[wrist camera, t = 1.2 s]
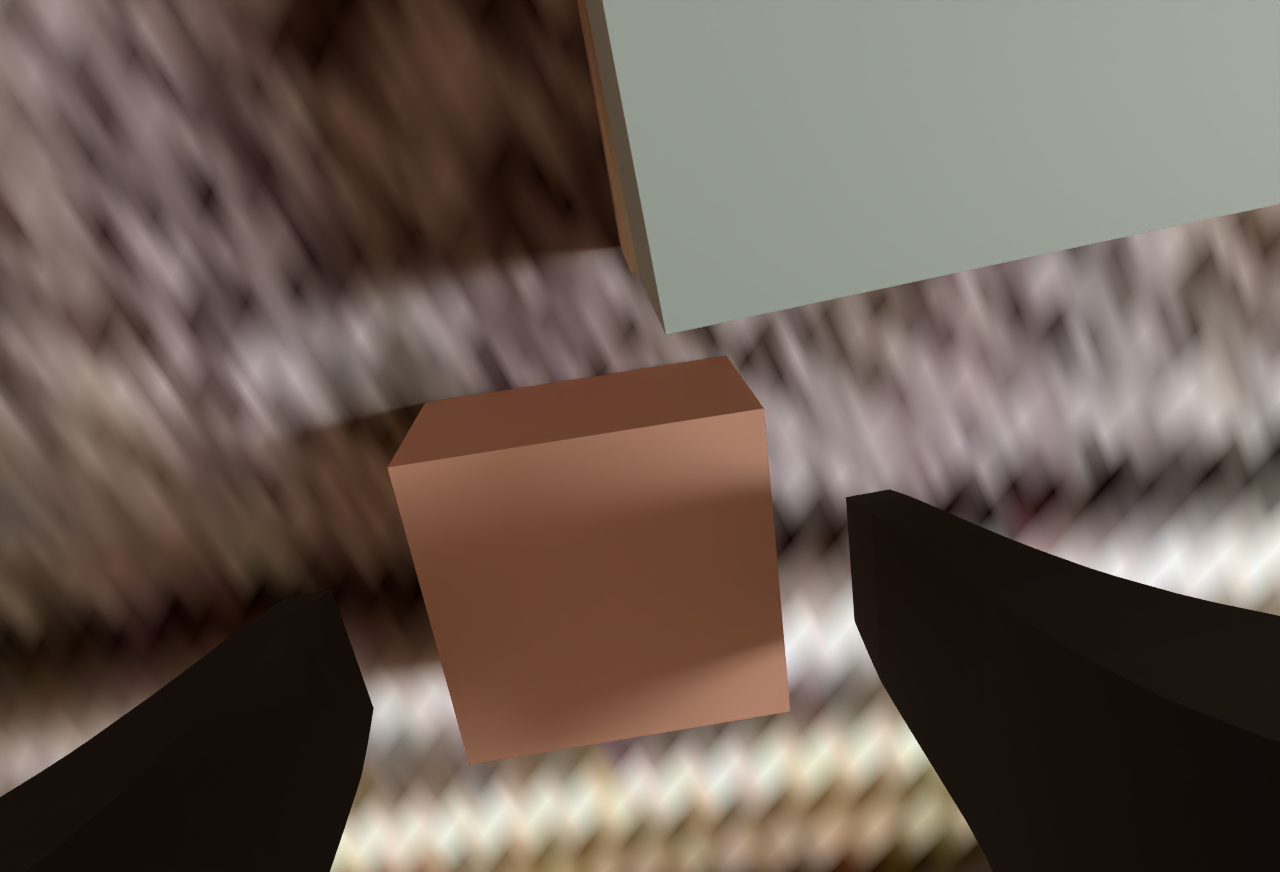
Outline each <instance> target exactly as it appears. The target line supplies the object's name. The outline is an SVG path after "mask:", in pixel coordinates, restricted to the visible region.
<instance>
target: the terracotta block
mask: <svg viewBox="0 0 1280 872" xmlns="http://www.w3.org/2000/svg"><path fill="white" fill-rule="evenodd" d="M387 468H388V472H389V475H390V479H391V483H392V486H393V490H394V493H395V497H396V501H397V504H398V508H399V512H400V515H401V519H402V522H403V526H404V530H405V533H406V537H407V541H408V544H409V548H410V551H411V555H412V559H413V562H414V566H415V570H416V573H417V577H418V580H419V584H420V588H421V591H422V595H423V599H424V602H425V606H426V609H427V613H428V617H429V620H430V624H431V627H432V631H433V635H434V638H435V642H436V646H437V649H438V653H439V656H440V660H441V664H442V667H443V671H444V675H445V678H446V682H447V685H448V689H449V693H450V696H451V700H452V704H453V707H454V711H455V714H456V718H457V722H458V725H459V729H460V733H461V736H462V740H463V743H464V747H465V751H466V754H467V758H468V762H469V765H471V764H477V763H483V762H489V761H495V760H501V759H507V758H513V757H519V756H525V755H531V754H537V753H543V752H549V751H555V750H561V749H567V748H573V747H579V746H585V745H591V744H597V743H603V742H609V741H615V740H621V739H627V738H633V737H639V736H645V735H651V734H657V733H663V732H669V731H675V730H681V729H687V728H693V727H699V726H705V725H711V724H717V723H723V722H729V721H735V720H741V719H747V718H753V717H759V716H765V715H771V714H777V713H783V712H789V711H790V704H789V692H788V681H787V669H786V658H785V646H784V635H783V623H782V611H781V600H780V588H779V577H778V565H777V554H776V542H775V531H774V519H773V508H772V496H771V485H770V473H769V462H768V450H767V439H766V427H765V416H764V408H763V406H762V405H761V404H760V402H759V401H758V399H757V398H756V397H755V395H754V394H753V393H752V391H751V390H750V388H749V387H748V386H747V384H746V383H745V381H744V380H743V379H742V377H741V376H740V374H739V373H738V372H737V370H736V369H735V367H734V366H733V365H732V363H731V362H730V360H729V359H728V358H727V356H722V357H715V358H709V359H703V360H696V361H690V362H683V363H677V364H670V365H664V366H657V367H651V368H645V369H638V370H632V371H625V372H619V373H612V374H606V375H599V376H593V377H587V378H580V379H574V380H567V381H561V382H554V383H548V384H541V385H535V386H529V387H522V388H516V389H509V390H503V391H496V392H490V393H483V394H477V395H471V396H464V397H458V398H451V399H445V400H438V401H432V402H425V404H424V406H423V407H422V409H421V411H420V413H419V414H418V416H417V418H416V419H415V421H414V423H413V425H412V426H411V428H410V430H409V431H408V433H407V435H406V437H405V438H404V440H403V442H402V443H401V445H400V447H399V449H398V450H397V452H396V454H395V455H394V457H393V459H392V461H391V462H390V464H389V466H388V467H387Z"/></svg>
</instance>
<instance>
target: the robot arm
mask: <svg viewBox="0 0 1280 872" xmlns="http://www.w3.org/2000/svg"><path fill="white" fill-rule="evenodd" d="M846 503H847V518H848V532H849V547H850V561H851V576H852V590H853V605H854V619H855V623H856V625H857V628H858V630H859V632H860V635H861V637H862V640H863V642H864V644H865V647H866V649H867V651H868V654H869V656H870V658H871V660H872V663H873V665H874V667H875V669H876V671H877V674H878V676H879V678H880V680H881V682H882V684H883V685H884V687H885V689H886V691H887V692H888V694H889V696H890V697H891V699H892V701H893V702H894V704H895V706H896V707H897V709H898V711H899V712H900V714H901V716H902V717H903V719H904V720H905V722H906V724H907V725H908V727H909V729H910V730H911V732H912V734H913V735H914V737H915V738H916V740H917V742H918V743H919V745H920V747H921V748H922V750H923V751H924V753H925V755H926V756H927V758H928V760H929V761H930V763H931V764H932V766H933V768H934V769H935V771H936V773H937V774H938V776H939V777H940V779H941V781H942V782H943V784H944V786H945V787H946V789H947V790H948V792H949V794H950V795H951V797H952V799H953V800H954V802H955V803H956V805H957V807H958V808H959V810H960V812H961V813H962V815H963V816H964V818H965V820H966V822H967V823H968V825H969V827H970V829H971V831H972V832H973V834H974V836H975V838H976V840H977V841H978V843H979V845H980V847H981V848H982V850H983V852H984V854H985V856H986V858H987V860H988V862H989V864H990V866H991V868H992V870H993V872H1280V616H1277V615H1272V614H1268V613H1263V612H1258V611H1253V610H1248V609H1243V608H1239V607H1234V606H1229V605H1224V604H1219V603H1215V602H1210V601H1206V600H1202V599H1198V598H1194V597H1189V596H1185V595H1181V594H1177V593H1173V592H1170V591H1166V590H1163V589H1159V588H1155V587H1152V586H1148V585H1145V584H1141V583H1138V582H1134V581H1130V580H1127V579H1123V578H1120V577H1116V576H1113V575H1110V574H1107V573H1103V572H1100V571H1097V570H1094V569H1091V568H1088V567H1085V566H1082V565H1079V564H1076V563H1074V562H1071V561H1068V560H1065V559H1062V558H1060V557H1057V556H1054V555H1051V554H1048V553H1046V552H1043V551H1040V550H1037V549H1035V548H1032V547H1030V546H1027V545H1024V544H1022V543H1019V542H1017V541H1014V540H1012V539H1009V538H1007V537H1004V536H1002V535H999V534H997V533H995V532H992V531H990V530H987V529H985V528H983V527H980V526H978V525H975V524H973V523H971V522H968V521H966V520H964V519H961V518H959V517H957V516H954V515H952V514H950V513H948V512H945V511H943V510H941V509H938V508H936V507H934V506H931V505H929V504H927V503H924V502H922V501H919V500H917V499H915V498H912V497H910V496H907V495H904V494H902V493H899V492H896V491H892V490H884V491H879V492H873V493H867V494H862V495H856V496H851V497H846ZM373 709H374V708H373V706H372V703H371V700H370V697H369V694H368V691H367V689H366V686H365V683H364V680H363V677H362V674H361V671H360V669H359V666H358V663H357V660H356V657H355V654H354V652H353V649H352V646H351V643H350V640H349V637H348V635H347V632H346V629H345V626H344V623H343V620H342V618H341V615H340V612H339V609H338V606H337V603H336V601H335V598H334V595H333V592H332V590H326V591H321V592H315V593H310V594H304V595H298V596H293V597H288V598H286V599H284V600H282V601H281V602H279V603H277V604H276V605H274V606H272V607H271V608H269V609H268V610H266V611H265V612H263V613H262V614H261V615H259V616H258V617H256V618H255V619H254V620H252V621H251V622H249V623H248V624H247V625H245V626H244V627H243V628H241V629H240V630H239V631H237V632H236V633H234V634H233V635H232V636H230V637H229V638H228V639H227V640H225V641H224V642H223V643H221V644H220V645H219V646H217V647H216V648H215V649H213V650H212V651H211V652H209V653H208V654H207V655H205V656H204V657H203V658H201V659H200V660H199V661H197V662H196V663H195V664H194V665H192V666H191V667H190V668H188V669H187V670H186V671H184V672H183V673H182V674H180V675H179V676H178V677H176V678H175V679H174V680H172V681H171V682H170V683H168V684H167V685H166V686H164V687H163V688H162V689H160V690H159V691H158V692H156V693H155V694H153V695H152V696H151V697H149V698H148V699H146V700H145V701H144V702H142V703H141V704H139V705H138V706H137V707H135V708H134V709H132V710H131V711H130V712H128V713H127V714H125V715H124V716H122V717H121V718H120V719H118V720H117V721H115V722H114V723H113V724H111V725H110V726H108V727H107V728H106V729H104V730H103V731H101V732H100V733H99V734H97V735H96V736H94V737H93V738H92V739H90V740H89V741H87V742H86V743H84V744H83V745H81V746H80V747H79V748H77V749H76V750H74V751H73V752H71V753H70V754H68V755H67V756H65V757H64V758H62V759H60V760H59V761H57V762H56V763H54V764H53V765H51V766H50V767H48V768H47V769H45V770H43V771H42V772H40V773H39V774H37V775H36V776H34V777H32V778H31V779H29V780H27V781H26V782H24V783H23V784H21V785H19V786H18V787H16V788H14V789H13V790H11V791H10V792H8V793H6V794H5V795H3V796H1V797H0V872H330V869H331V866H332V864H333V861H334V858H335V855H336V852H337V849H338V846H339V843H340V840H341V837H342V834H343V831H344V828H345V825H346V822H347V819H348V816H349V813H350V810H351V807H352V804H353V801H354V798H355V795H356V791H357V788H358V785H359V782H360V779H361V775H362V770H363V765H364V760H365V755H366V750H367V745H368V739H369V733H370V727H371V721H372V715H373Z"/></svg>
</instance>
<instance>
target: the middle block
mask: <svg viewBox="0 0 1280 872" xmlns="http://www.w3.org/2000/svg"><path fill="white" fill-rule="evenodd" d="M585 2H586V7H587V12H588V17H589V22H590V27H591V32H592V37H593V42H594V47H595V52H596V57H597V62H598V68H599V73H600V78H601V83H602V88H603V93H604V98H605V103H606V108H607V113H608V118H609V123H610V128H611V133H612V138H613V143H614V149H615V154H616V159H617V164H618V169H619V174H620V179H621V184H622V189H623V194H624V199H625V204H626V209H627V214H628V219H629V224H630V230H631V235H632V240H633V245H634V250H635V255H636V260H637V265H638V270H639V275H640V280H641V282H642V284H643V286H644V288H645V290H646V293H647V295H648V297H649V299H650V301H651V303H652V306H653V308H654V310H655V312H656V314H657V316H658V318H659V321H660V323H661V325H662V327H663V329H664V331H665V334H666V335H667V334H672V333H676V332H681V331H686V330H690V329H695V328H700V327H704V326H709V325H714V324H718V323H723V322H728V321H733V320H737V319H742V318H747V317H751V316H756V315H761V314H765V313H770V312H775V311H779V310H784V309H789V308H793V307H798V306H803V305H808V304H812V303H817V302H822V301H826V300H831V299H836V298H840V297H845V296H850V295H854V294H859V293H864V292H868V291H873V290H878V289H883V288H887V287H892V286H897V285H901V284H906V283H911V282H915V281H920V280H925V279H929V278H934V277H939V276H943V275H948V274H953V273H958V272H962V271H967V270H972V269H976V268H981V267H986V266H990V265H995V264H1000V263H1004V262H1009V261H1014V260H1018V259H1023V258H1028V257H1033V256H1037V255H1042V254H1047V253H1051V252H1056V251H1061V250H1065V249H1070V248H1075V247H1079V246H1084V245H1089V244H1093V243H1098V242H1103V241H1108V240H1112V239H1117V238H1122V237H1126V236H1131V235H1136V234H1140V233H1145V232H1150V231H1154V230H1159V229H1164V228H1168V227H1173V226H1178V225H1182V224H1187V223H1192V222H1197V221H1201V220H1206V219H1211V218H1215V217H1220V216H1225V215H1229V214H1234V213H1239V212H1243V211H1248V210H1253V209H1257V208H1262V207H1267V206H1272V205H1276V204H1280V0H585Z"/></svg>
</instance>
